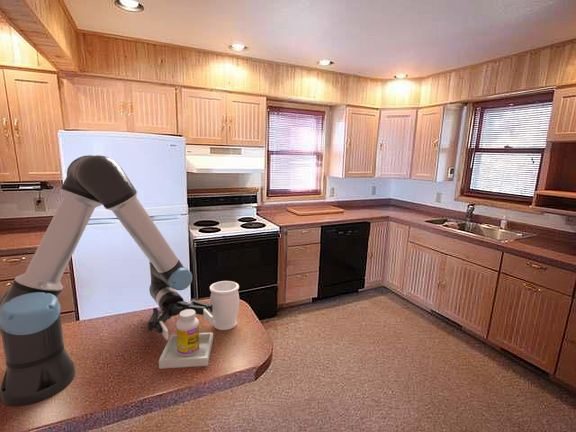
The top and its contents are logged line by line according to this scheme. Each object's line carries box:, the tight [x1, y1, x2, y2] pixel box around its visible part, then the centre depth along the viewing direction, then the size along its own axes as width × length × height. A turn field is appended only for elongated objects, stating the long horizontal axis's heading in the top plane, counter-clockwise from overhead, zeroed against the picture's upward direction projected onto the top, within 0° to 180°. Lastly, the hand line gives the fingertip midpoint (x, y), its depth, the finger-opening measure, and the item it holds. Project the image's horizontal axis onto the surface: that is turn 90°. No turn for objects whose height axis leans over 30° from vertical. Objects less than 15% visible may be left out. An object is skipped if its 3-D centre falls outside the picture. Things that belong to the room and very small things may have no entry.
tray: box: [158, 331, 214, 370], centre depth 94 cm, size 14×14×2 cm
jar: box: [209, 280, 240, 331], centre depth 109 cm, size 11×10×15 cm
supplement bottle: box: [175, 309, 200, 357], centre depth 93 cm, size 7×7×13 cm
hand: (190, 327), depth 90 cm, fingers open, 13 cm apart
